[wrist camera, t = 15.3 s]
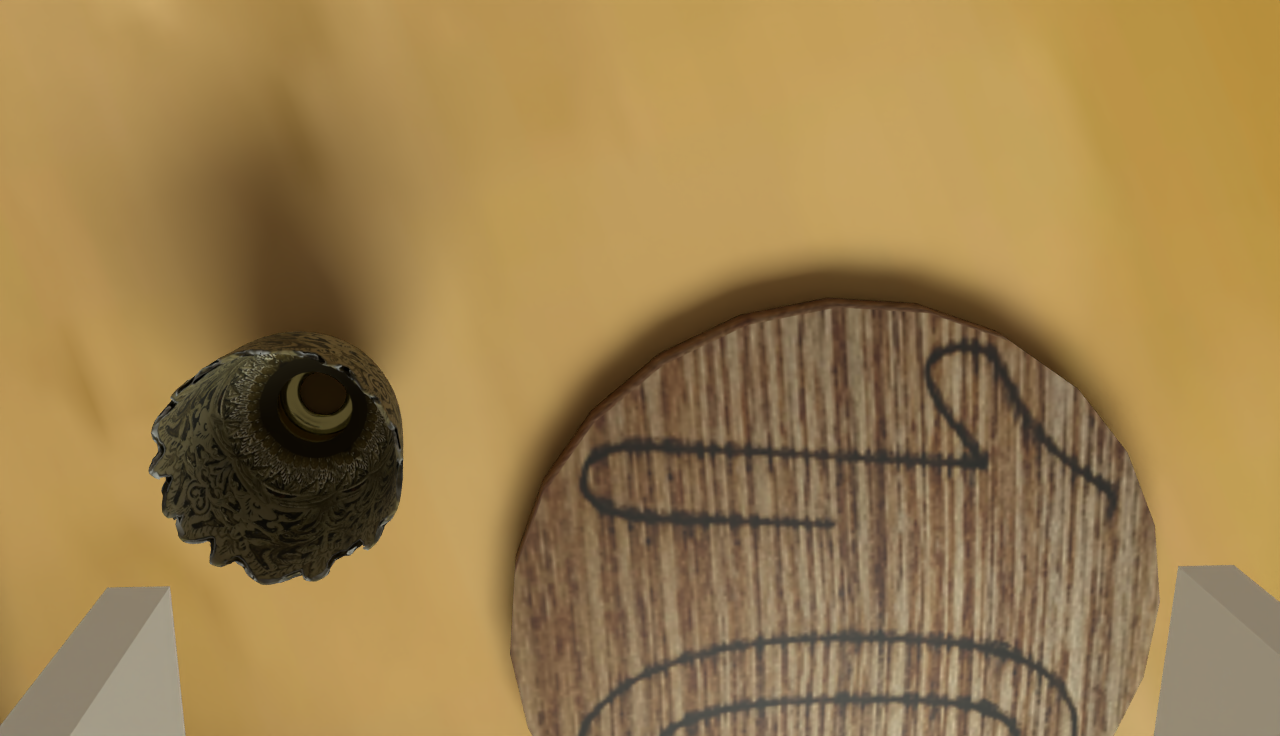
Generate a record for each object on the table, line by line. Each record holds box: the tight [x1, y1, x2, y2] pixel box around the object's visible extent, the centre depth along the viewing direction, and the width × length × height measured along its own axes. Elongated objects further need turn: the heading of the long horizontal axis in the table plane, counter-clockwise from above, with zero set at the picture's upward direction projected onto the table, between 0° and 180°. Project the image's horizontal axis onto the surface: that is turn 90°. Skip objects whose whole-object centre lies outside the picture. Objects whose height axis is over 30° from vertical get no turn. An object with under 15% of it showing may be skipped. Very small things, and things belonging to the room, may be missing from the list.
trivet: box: [510, 298, 1160, 736], centre depth 47 cm, size 25×25×2 cm
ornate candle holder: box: [149, 331, 403, 585], centre depth 40 cm, size 8×7×8 cm
